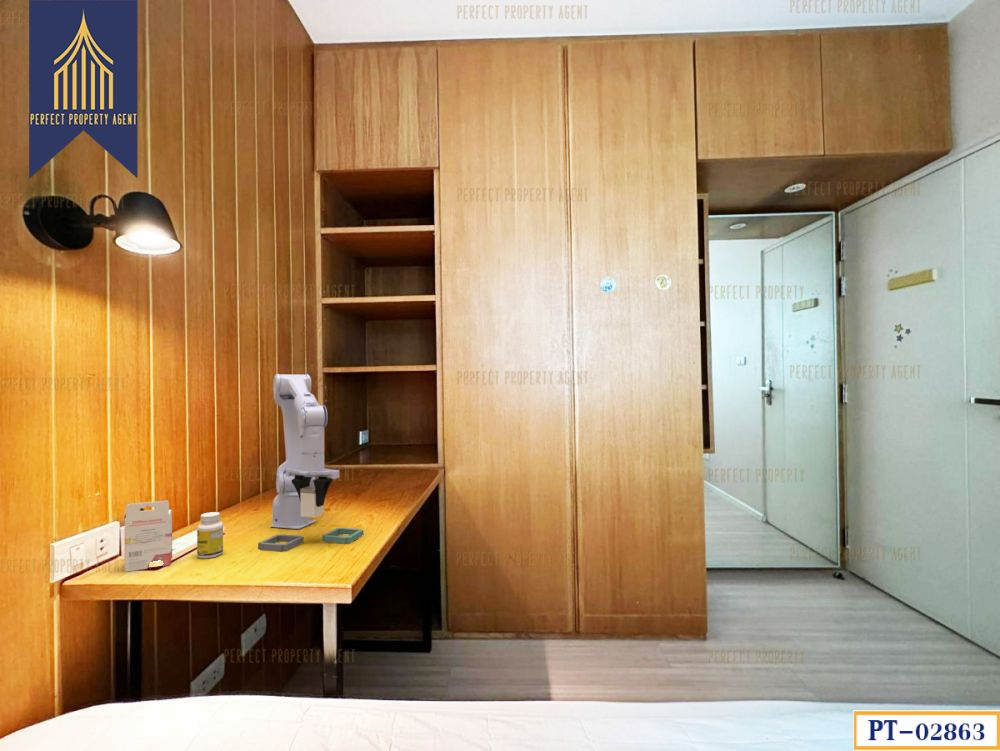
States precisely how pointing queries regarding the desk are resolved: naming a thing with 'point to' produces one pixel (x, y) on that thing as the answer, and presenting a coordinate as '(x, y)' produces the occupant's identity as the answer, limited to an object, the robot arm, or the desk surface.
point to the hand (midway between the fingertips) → (312, 505)
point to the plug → (310, 503)
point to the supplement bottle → (210, 536)
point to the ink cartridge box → (147, 535)
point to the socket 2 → (341, 539)
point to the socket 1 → (272, 546)
